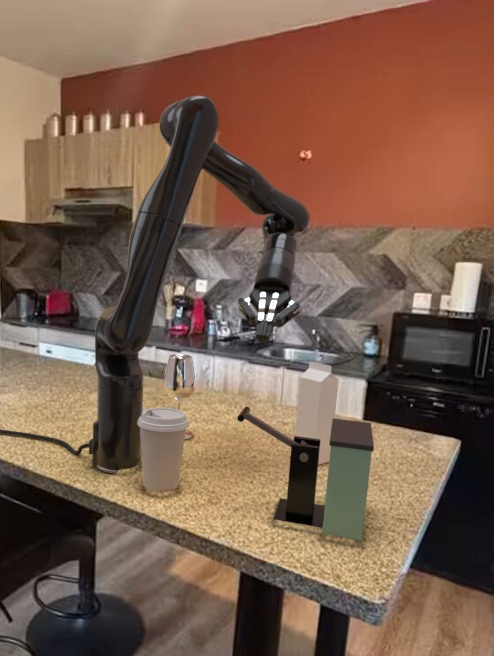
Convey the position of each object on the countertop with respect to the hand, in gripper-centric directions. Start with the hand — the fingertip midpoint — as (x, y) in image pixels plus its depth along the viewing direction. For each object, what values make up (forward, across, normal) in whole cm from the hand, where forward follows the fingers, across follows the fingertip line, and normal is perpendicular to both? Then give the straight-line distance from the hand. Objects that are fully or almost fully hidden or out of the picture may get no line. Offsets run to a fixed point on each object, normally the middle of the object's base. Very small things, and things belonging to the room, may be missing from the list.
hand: (261, 340), depth 106 cm
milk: (+8, +11, +32) cm, 35 cm away
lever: (+20, +5, +1) cm, 21 cm away
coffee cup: (+28, -15, +12) cm, 35 cm away
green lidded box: (+30, +18, +10) cm, 36 cm away
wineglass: (+5, -22, +36) cm, 42 cm away
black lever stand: (+30, +11, +10) cm, 33 cm away
